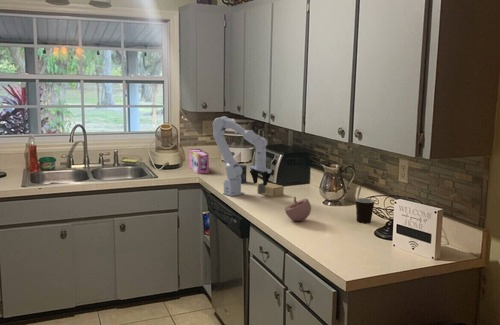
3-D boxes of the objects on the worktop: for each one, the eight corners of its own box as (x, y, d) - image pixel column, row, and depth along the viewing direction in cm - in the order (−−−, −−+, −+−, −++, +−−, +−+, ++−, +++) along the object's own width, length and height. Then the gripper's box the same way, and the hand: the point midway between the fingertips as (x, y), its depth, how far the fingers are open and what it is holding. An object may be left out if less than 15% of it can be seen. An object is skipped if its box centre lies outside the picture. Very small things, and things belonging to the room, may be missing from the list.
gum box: (209, 173, 332) (209, 153, 329) (198, 174, 329) (198, 154, 326) (199, 167, 354) (199, 148, 351) (188, 167, 351) (188, 149, 348)
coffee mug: (369, 225, 224) (370, 203, 222) (351, 221, 229) (352, 200, 227) (378, 219, 234) (379, 198, 232) (361, 216, 238) (362, 195, 237)
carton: (273, 197, 272) (273, 188, 271) (258, 193, 280) (258, 184, 279) (283, 194, 277) (283, 186, 276) (268, 191, 286) (268, 182, 285)
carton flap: (273, 196, 271) (273, 184, 270) (267, 198, 268) (267, 186, 267) (258, 192, 280) (258, 181, 279) (251, 194, 276) (251, 182, 275)
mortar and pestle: (286, 216, 237) (286, 192, 234) (311, 217, 235) (312, 194, 232) (283, 223, 225) (284, 199, 223) (309, 225, 223) (310, 200, 221)
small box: (226, 181, 308) (227, 165, 306) (232, 179, 314) (232, 163, 312) (241, 183, 303) (241, 167, 302) (246, 181, 309) (247, 165, 307)
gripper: (246, 158, 272) (245, 182, 274) (264, 162, 262) (264, 187, 264) (255, 157, 277) (255, 181, 279) (274, 160, 266) (273, 185, 269)
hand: (260, 184), depth 272 cm, fingers open, 7 cm apart
